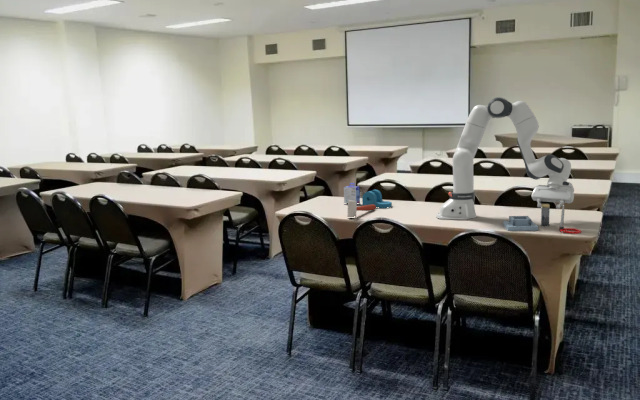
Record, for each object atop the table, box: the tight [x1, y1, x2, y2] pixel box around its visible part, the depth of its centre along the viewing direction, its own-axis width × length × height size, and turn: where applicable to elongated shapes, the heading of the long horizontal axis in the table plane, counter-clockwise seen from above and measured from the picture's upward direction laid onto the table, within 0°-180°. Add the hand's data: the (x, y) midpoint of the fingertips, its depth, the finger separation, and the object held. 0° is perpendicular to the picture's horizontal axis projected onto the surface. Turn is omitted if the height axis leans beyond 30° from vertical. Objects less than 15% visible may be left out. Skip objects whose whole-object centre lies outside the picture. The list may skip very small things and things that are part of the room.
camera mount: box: [361, 189, 393, 209], centre depth 337 cm, size 18×10×10 cm, turn 57°
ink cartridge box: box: [343, 182, 361, 204], centre depth 349 cm, size 10×6×14 cm, turn 57°
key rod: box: [540, 203, 551, 227], centre depth 262 cm, size 4×4×11 cm
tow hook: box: [558, 205, 582, 235], centre depth 247 cm, size 8×13×9 cm
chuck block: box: [502, 215, 539, 232], centre depth 261 cm, size 14×14×5 cm
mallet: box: [346, 201, 377, 218], centre depth 315 cm, size 11×4×30 cm
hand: (548, 207), depth 264 cm, fingers open, 8 cm apart
